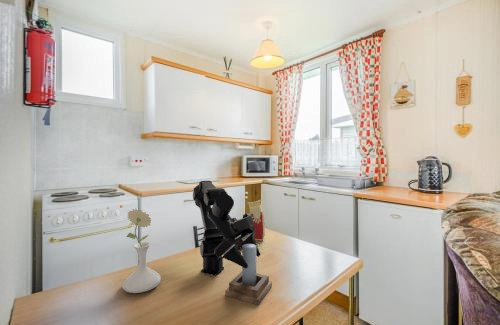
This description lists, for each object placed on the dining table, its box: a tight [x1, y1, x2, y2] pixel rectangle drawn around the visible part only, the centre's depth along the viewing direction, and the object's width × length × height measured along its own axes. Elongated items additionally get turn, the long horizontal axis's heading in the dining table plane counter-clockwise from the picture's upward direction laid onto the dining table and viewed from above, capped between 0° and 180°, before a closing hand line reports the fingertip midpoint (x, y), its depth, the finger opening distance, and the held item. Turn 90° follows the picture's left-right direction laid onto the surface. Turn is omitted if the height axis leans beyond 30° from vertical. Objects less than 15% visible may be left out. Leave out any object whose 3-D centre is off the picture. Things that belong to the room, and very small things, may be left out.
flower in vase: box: [121, 208, 162, 294], centre depth 77 cm, size 13×11×25 cm
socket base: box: [224, 270, 273, 306], centre depth 75 cm, size 11×11×4 cm
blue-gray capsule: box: [241, 244, 257, 287], centre depth 75 cm, size 4×4×12 cm
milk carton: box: [247, 199, 266, 241], centre depth 124 cm, size 9×9×20 cm
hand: (253, 261), depth 74 cm, fingers open, 9 cm apart
